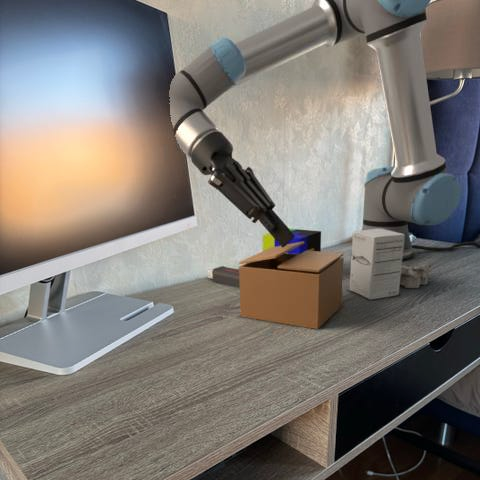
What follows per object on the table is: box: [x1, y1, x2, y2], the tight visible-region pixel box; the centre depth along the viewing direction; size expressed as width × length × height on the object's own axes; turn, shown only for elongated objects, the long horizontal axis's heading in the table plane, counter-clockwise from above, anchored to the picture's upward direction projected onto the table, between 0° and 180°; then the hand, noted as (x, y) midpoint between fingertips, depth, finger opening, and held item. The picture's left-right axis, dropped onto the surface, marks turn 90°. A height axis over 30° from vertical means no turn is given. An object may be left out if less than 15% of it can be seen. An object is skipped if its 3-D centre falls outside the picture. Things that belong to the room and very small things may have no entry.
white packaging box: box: [349, 229, 405, 301], centre depth 90 cm, size 7×7×13 cm
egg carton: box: [399, 264, 432, 289], centre depth 98 cm, size 11×8×4 cm
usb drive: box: [206, 265, 240, 289], centre depth 104 cm, size 5×12×3 cm, turn 48°
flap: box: [238, 241, 304, 265], centre depth 82 cm, size 7×13×1 cm, turn 152°
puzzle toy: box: [262, 228, 322, 254], centre depth 106 cm, size 10×10×10 cm
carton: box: [238, 251, 345, 330], centre depth 82 cm, size 15×13×10 cm
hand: (288, 241), depth 80 cm, fingers closed
